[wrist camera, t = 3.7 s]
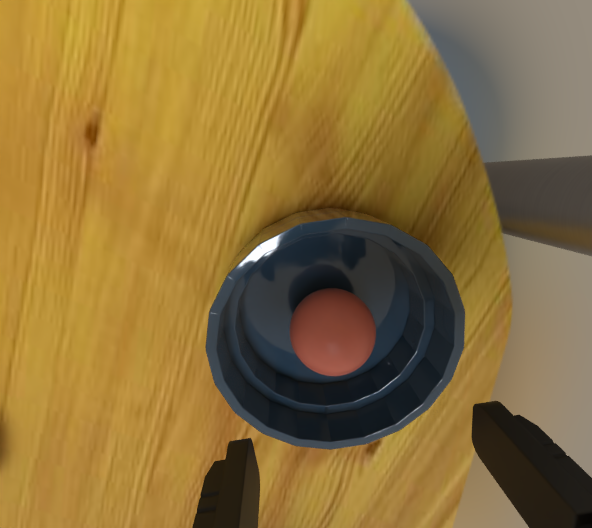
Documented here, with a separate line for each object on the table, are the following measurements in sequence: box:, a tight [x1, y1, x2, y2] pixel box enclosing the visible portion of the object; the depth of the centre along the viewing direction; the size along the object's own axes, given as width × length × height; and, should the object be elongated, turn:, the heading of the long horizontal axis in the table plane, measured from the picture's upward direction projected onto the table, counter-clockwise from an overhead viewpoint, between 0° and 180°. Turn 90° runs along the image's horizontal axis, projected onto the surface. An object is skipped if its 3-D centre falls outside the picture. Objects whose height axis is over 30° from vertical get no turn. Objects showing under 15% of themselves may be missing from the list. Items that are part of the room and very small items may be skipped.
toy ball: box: [290, 288, 376, 376], centre depth 18 cm, size 5×5×5 cm
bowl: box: [205, 208, 465, 449], centre depth 19 cm, size 14×14×5 cm
